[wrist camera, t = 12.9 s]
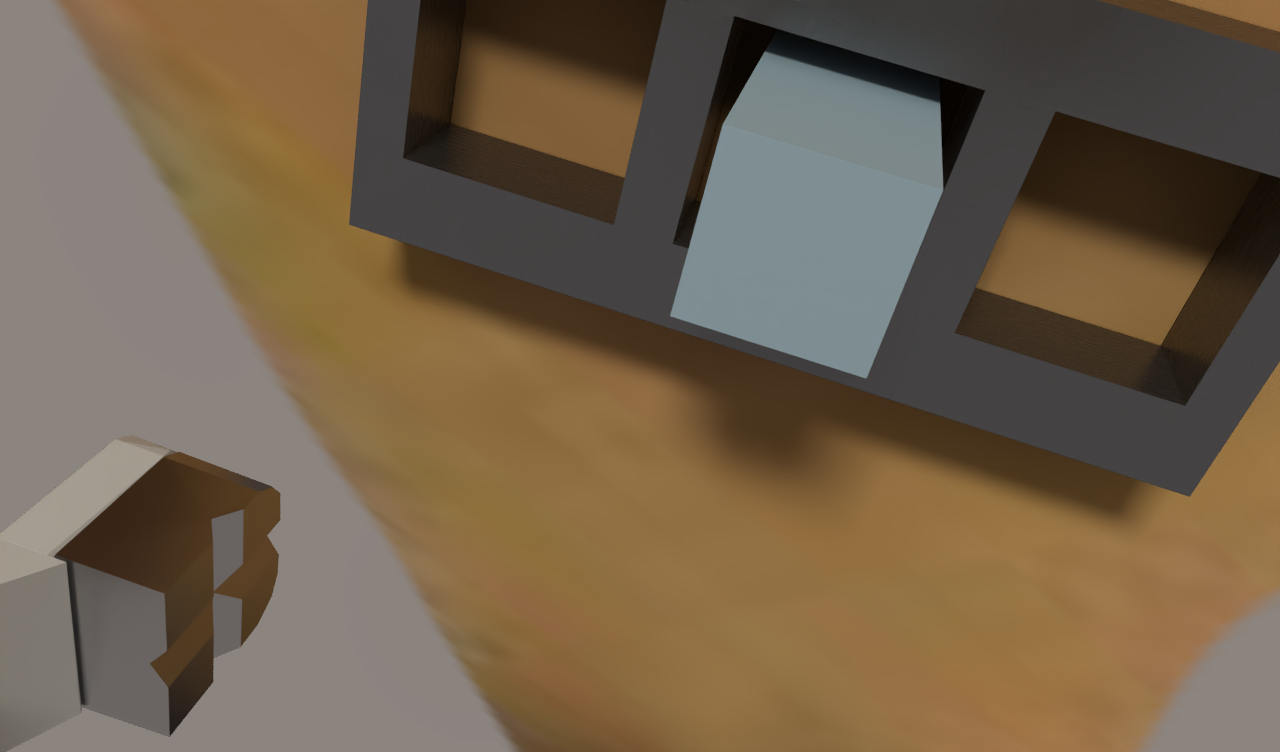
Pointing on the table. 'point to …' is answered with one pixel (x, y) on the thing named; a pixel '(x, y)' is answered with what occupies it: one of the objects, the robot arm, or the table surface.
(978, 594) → the table surface
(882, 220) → the square block
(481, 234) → the hole rail
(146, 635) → the robot arm
